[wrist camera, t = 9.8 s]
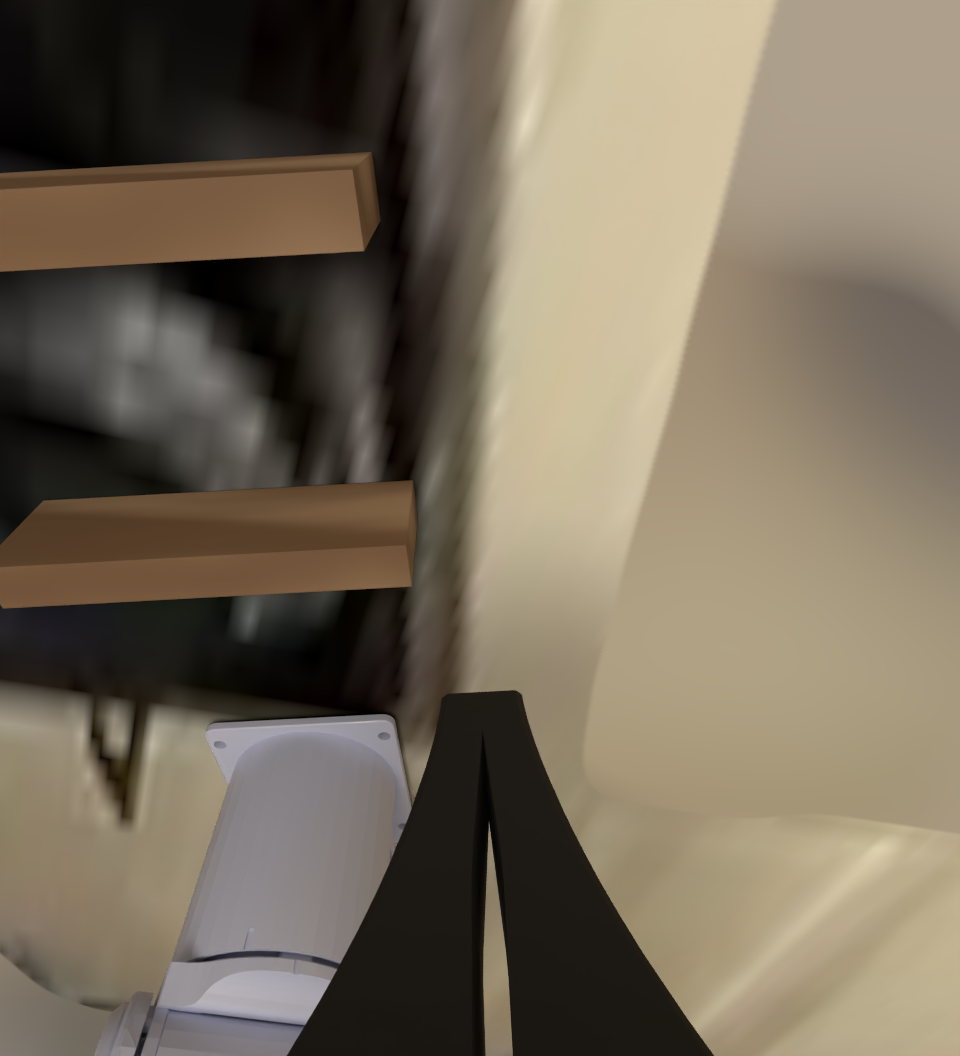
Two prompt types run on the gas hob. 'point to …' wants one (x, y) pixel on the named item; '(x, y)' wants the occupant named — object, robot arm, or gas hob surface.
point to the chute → (218, 516)
